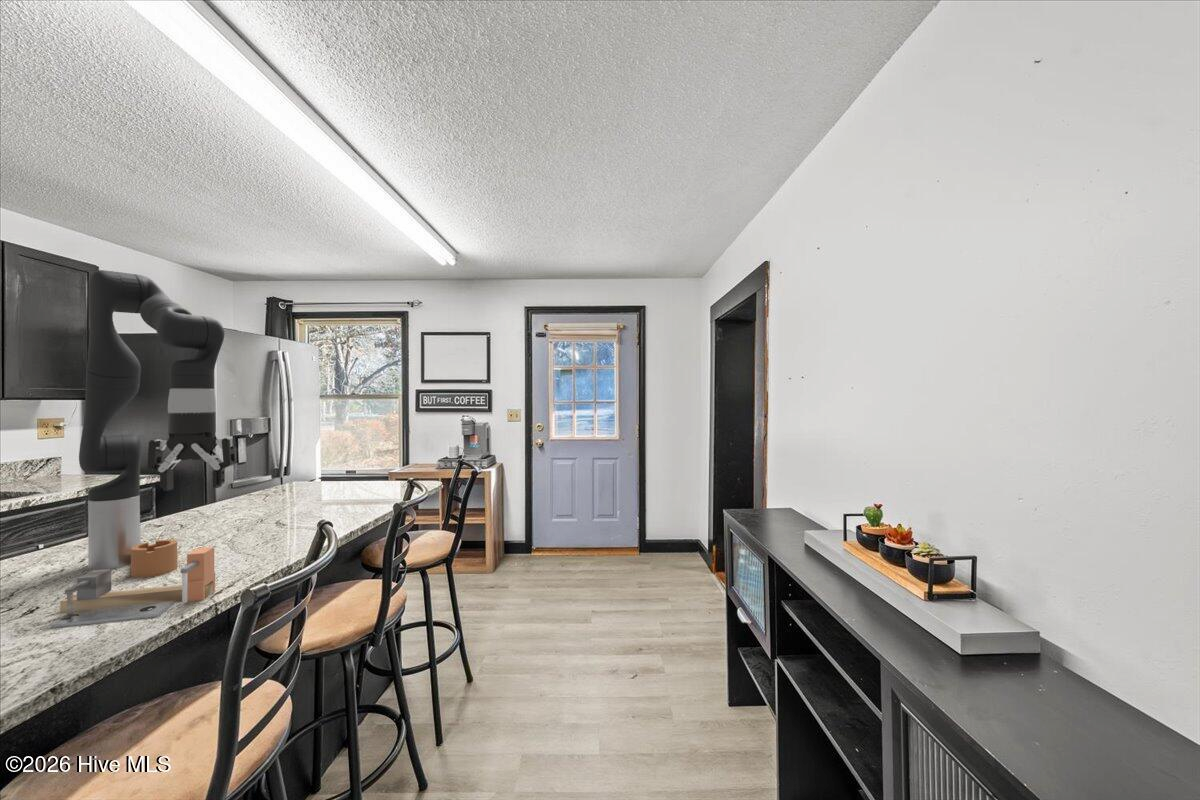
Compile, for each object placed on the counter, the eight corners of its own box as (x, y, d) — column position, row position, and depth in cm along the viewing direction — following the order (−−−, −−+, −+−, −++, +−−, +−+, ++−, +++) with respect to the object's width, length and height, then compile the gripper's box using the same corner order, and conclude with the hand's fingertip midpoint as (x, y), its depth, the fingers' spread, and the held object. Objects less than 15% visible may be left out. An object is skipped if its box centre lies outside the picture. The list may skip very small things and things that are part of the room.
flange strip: (73, 616, 93) (73, 610, 93) (174, 605, 97) (174, 600, 97) (48, 630, 87) (48, 624, 87) (157, 618, 92) (157, 613, 92)
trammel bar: (74, 605, 97) (74, 571, 97) (214, 591, 104) (214, 560, 104) (37, 626, 88) (37, 589, 88) (192, 609, 95) (192, 575, 95)
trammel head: (198, 591, 104) (198, 547, 104) (215, 590, 105) (215, 546, 104) (174, 610, 95) (174, 561, 95) (192, 608, 95) (192, 560, 95)
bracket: (177, 573, 116) (177, 545, 116) (129, 582, 110) (129, 552, 110) (177, 554, 129) (177, 529, 129) (135, 561, 124) (134, 535, 124)
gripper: (240, 410, 104) (241, 483, 104) (162, 410, 100) (162, 487, 100) (223, 410, 96) (224, 490, 96) (138, 411, 92) (138, 494, 92)
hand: (193, 488), depth 98 cm, fingers open, 8 cm apart
